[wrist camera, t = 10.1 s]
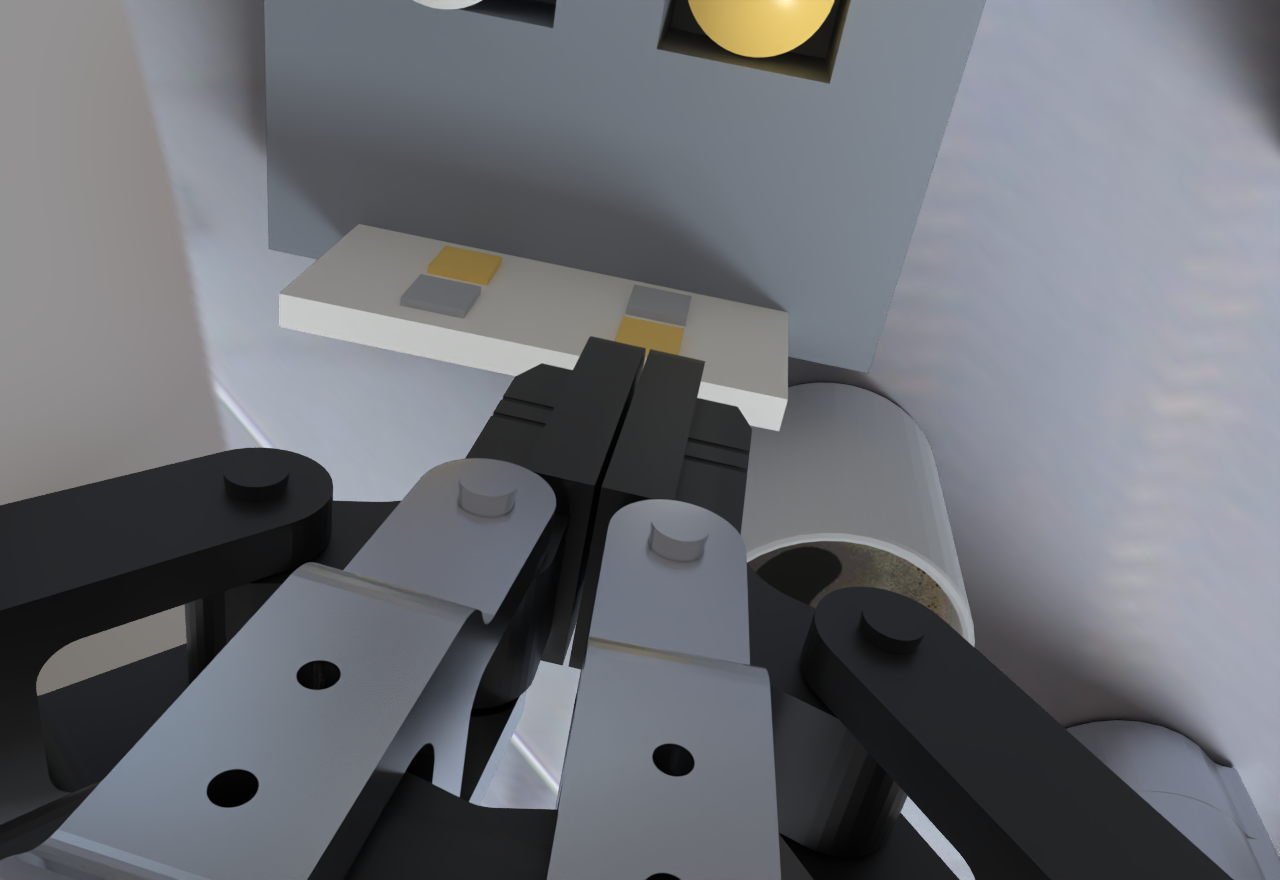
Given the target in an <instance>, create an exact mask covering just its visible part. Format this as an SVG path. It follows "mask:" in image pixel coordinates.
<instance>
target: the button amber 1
mask: <svg viewBox="0 0 1280 880" xmlns="http://www.w3.org/2000/svg"><path fill="white" fill-rule="evenodd" d="M834 1H835V0H688V2H689V5H690V8H691V10H692V13H693V15H694V17H695V19H696V20H697V22H698V24H699V25H700V27H701V28H702V29H703V31H704V32H705V33H706V34H707V35H708V36H709V37H710V38H711V39H712V40H713V41H714V42H716V43H717V44H718V45H720V46H721V47H723V48H725V49H726V50H728V51H731V52H733V53H735V54H739V55H743V56H748V57H770V56H776V55H779V54H783V53H785V52H788V51H790V50H792V49H794V48H796V47H797V46H799V45H801V44H802V43H804V42H805V41H806V40H807V39H809V38H810V37H811V36H812V35H813V34H814V33H815V32H816V31H817V30H818V29H819V27H820V26H821V25H822V23H823V22H824V21H825V19H826V17H827V16H828V14H829V12H830V10H831V8H832V6H833V4H834Z"/></svg>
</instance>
